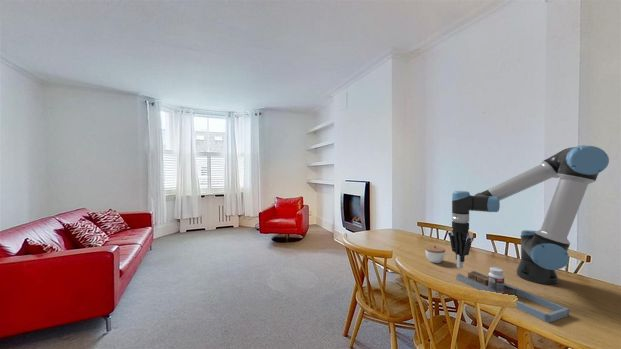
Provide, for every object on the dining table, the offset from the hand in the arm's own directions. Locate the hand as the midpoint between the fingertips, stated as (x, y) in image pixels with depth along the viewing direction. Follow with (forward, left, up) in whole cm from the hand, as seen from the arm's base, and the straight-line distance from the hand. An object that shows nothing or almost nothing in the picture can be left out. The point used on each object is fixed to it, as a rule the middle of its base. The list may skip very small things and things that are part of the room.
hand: (460, 267), depth 127 cm
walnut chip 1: (-6, +5, -4) cm, 9 cm away
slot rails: (-10, +8, -4) cm, 13 cm away
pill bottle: (-14, +11, -4) cm, 18 cm away
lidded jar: (+13, -15, -4) cm, 20 cm away
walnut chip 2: (-10, +8, -4) cm, 13 cm away
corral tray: (-24, +20, -4) cm, 32 cm away
